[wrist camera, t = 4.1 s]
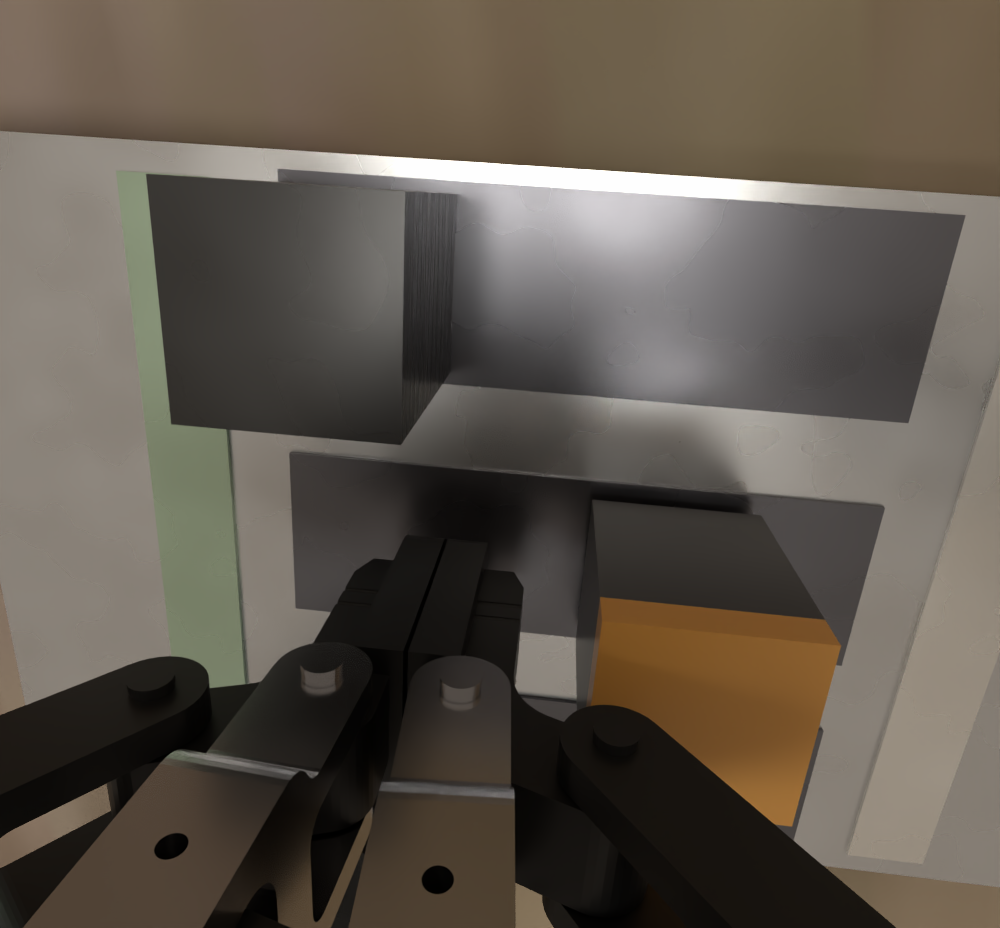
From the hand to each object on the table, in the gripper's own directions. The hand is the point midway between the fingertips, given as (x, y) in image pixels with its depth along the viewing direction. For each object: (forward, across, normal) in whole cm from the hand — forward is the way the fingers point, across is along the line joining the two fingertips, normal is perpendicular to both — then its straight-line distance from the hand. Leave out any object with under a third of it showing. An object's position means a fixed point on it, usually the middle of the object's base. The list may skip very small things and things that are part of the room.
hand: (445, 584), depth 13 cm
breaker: (+1, -4, 0) cm, 4 cm away
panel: (+3, -2, 0) cm, 4 cm away
